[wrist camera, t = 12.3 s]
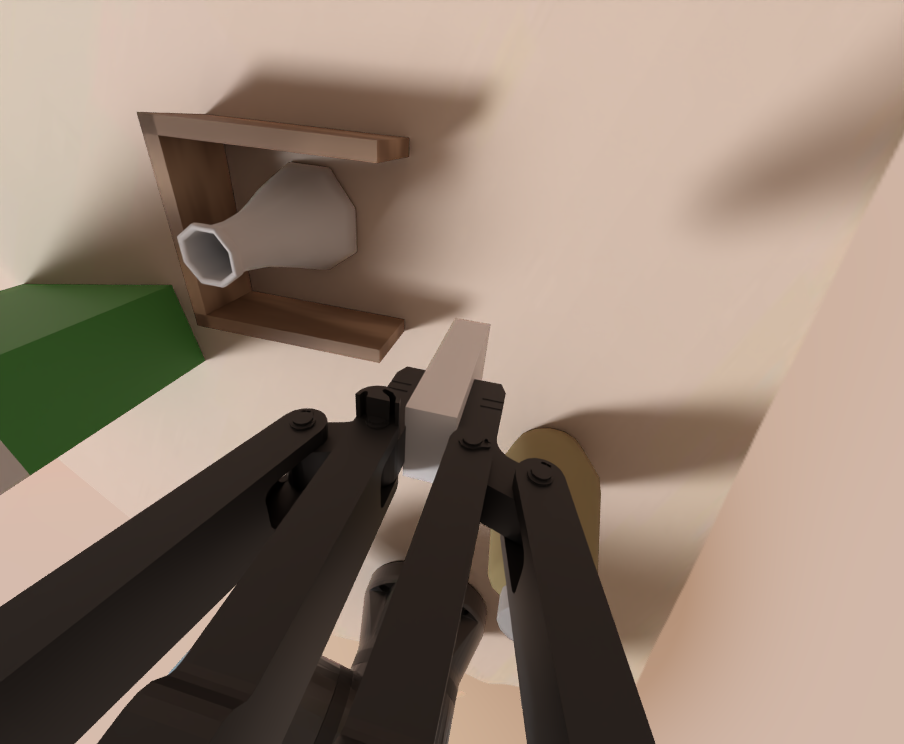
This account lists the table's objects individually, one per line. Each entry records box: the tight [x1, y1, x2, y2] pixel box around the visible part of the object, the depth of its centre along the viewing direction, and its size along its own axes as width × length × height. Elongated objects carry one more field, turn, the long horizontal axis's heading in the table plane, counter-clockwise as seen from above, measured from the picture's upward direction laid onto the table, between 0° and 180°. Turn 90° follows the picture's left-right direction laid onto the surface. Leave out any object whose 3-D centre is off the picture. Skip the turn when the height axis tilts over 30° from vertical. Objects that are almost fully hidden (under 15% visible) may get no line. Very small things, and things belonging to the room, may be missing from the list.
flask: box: [177, 162, 357, 288], centre depth 24 cm, size 7×7×10 cm
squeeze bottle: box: [488, 428, 601, 704], centre depth 26 cm, size 8×8×18 cm
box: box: [137, 112, 409, 363], centre depth 26 cm, size 13×14×5 cm
